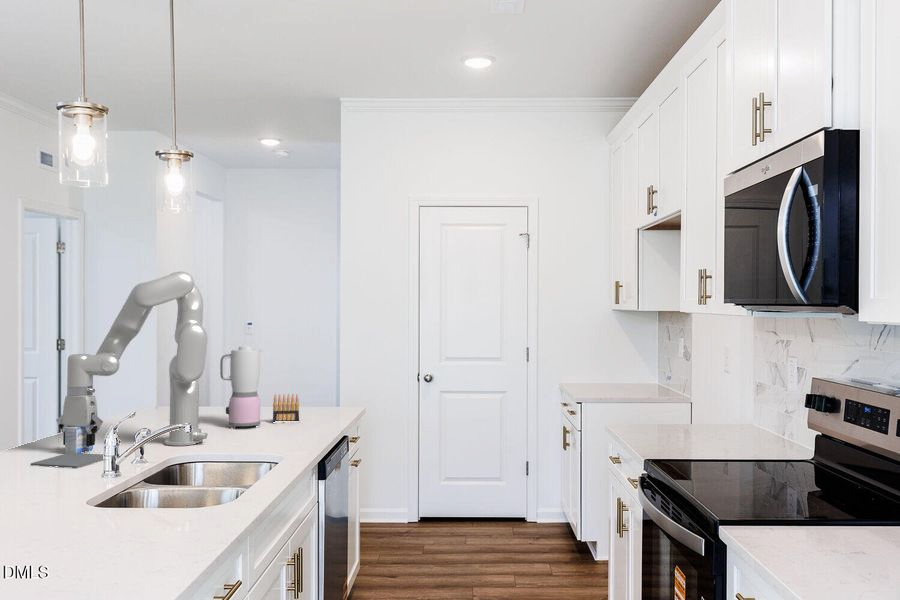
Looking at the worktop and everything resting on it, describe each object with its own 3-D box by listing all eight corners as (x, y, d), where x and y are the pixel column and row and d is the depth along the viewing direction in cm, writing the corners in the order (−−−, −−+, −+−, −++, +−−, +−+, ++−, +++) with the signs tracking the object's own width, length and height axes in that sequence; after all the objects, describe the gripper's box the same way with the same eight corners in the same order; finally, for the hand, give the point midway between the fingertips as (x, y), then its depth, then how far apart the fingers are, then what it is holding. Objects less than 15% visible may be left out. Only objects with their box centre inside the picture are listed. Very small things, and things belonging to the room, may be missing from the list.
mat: (113, 457, 222) (113, 455, 222) (76, 468, 206) (76, 466, 206) (70, 454, 225) (70, 452, 225) (30, 465, 209) (30, 463, 209)
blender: (258, 423, 287) (259, 345, 287) (262, 428, 275) (263, 347, 276) (218, 425, 280) (219, 346, 281) (220, 430, 269) (221, 347, 270)
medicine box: (76, 454, 225) (76, 427, 225) (64, 454, 225) (64, 427, 225) (93, 449, 232) (93, 423, 232) (81, 449, 233) (82, 423, 233)
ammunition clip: (299, 422, 291) (299, 393, 291) (299, 422, 289) (299, 393, 289) (272, 422, 289) (273, 393, 289) (272, 423, 287) (272, 394, 287)
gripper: (111, 391, 231) (110, 444, 231) (65, 389, 234) (64, 441, 234) (94, 394, 223) (94, 448, 223) (48, 392, 227) (47, 445, 227)
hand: (79, 444), depth 229 cm, fingers open, 8 cm apart
